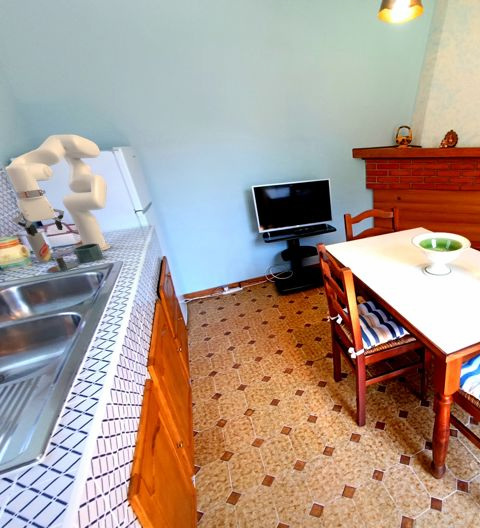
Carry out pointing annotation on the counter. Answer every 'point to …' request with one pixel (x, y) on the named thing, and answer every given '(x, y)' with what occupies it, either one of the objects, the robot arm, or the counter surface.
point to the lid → (61, 265)
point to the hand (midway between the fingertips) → (47, 232)
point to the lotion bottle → (39, 246)
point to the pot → (88, 253)
